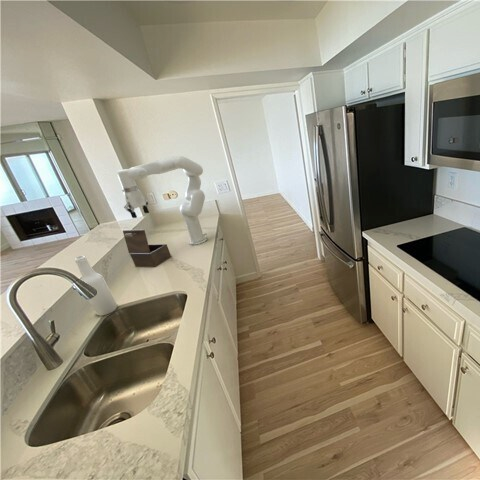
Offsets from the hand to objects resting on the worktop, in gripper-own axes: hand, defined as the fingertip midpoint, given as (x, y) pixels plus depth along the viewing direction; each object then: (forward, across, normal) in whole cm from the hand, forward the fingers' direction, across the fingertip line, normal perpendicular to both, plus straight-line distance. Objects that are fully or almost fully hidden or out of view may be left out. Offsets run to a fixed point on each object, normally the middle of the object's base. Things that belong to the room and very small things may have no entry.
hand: (141, 215), depth 173 cm
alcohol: (+32, -55, -20) cm, 67 cm away
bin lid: (+15, -10, 0) cm, 18 cm away
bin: (+32, -4, 0) cm, 33 cm away
